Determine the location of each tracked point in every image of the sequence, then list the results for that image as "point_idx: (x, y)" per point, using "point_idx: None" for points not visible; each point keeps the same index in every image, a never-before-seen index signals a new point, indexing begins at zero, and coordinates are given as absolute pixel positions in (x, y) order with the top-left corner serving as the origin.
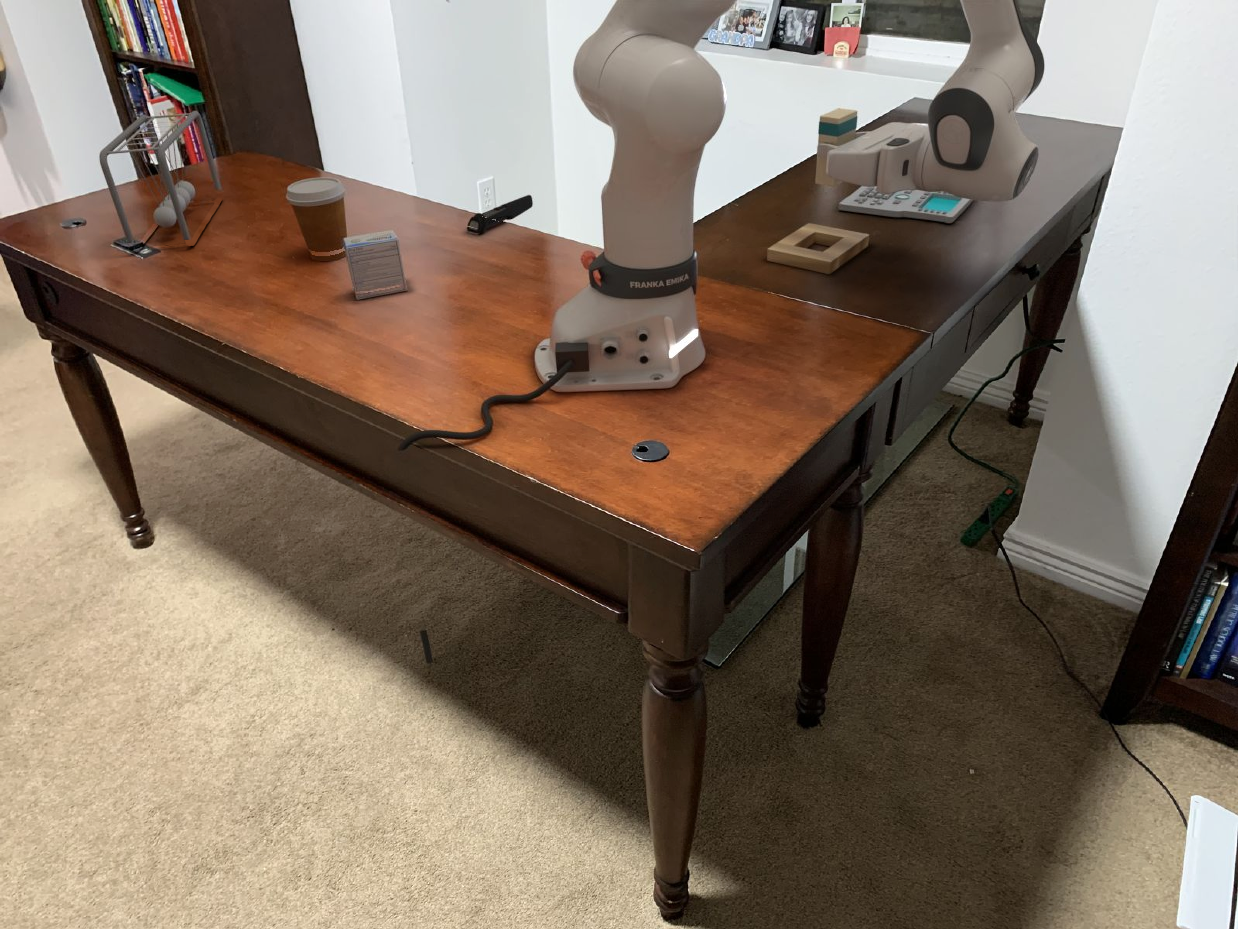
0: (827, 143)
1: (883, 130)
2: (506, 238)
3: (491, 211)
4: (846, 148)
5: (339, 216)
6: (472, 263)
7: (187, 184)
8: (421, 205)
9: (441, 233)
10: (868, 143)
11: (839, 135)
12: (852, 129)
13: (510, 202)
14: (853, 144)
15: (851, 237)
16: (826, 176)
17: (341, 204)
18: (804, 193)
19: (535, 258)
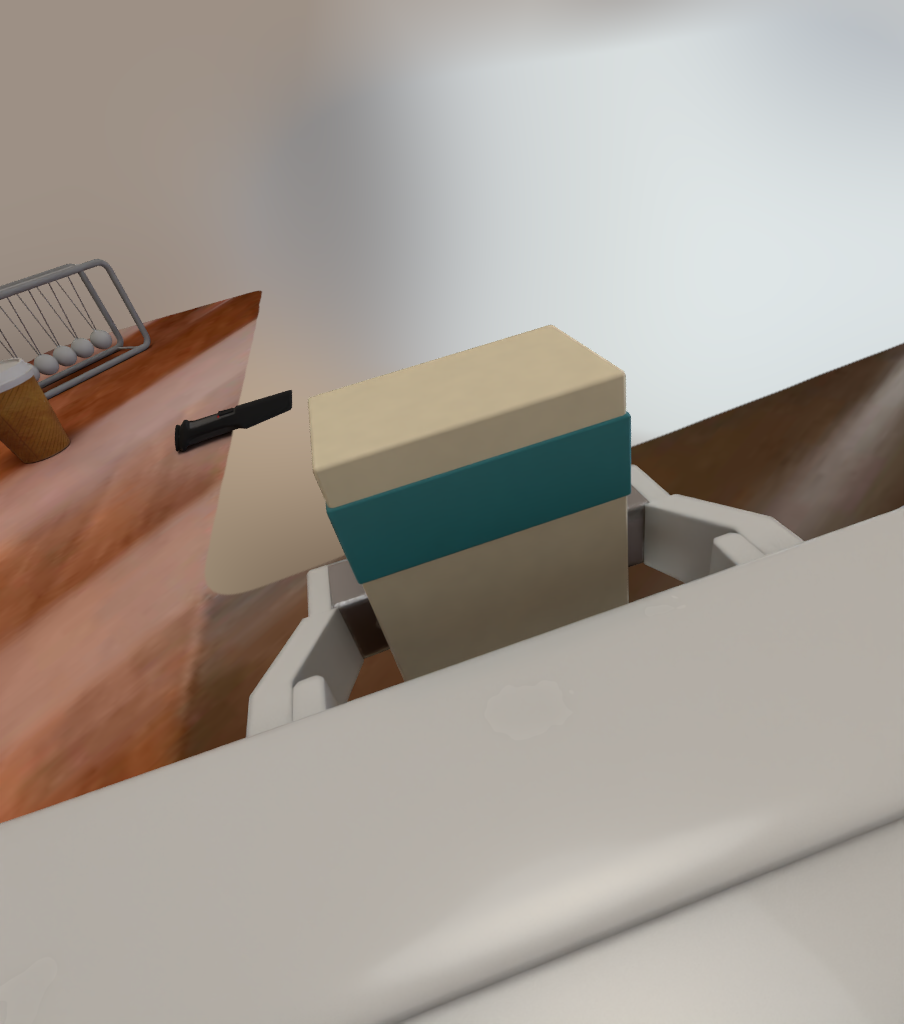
0: (342, 587)
1: (848, 615)
2: (185, 470)
3: (213, 416)
4: (36, 923)
5: (8, 415)
6: (74, 519)
7: (97, 334)
8: (234, 379)
9: (163, 438)
10: (361, 931)
11: (381, 575)
12: (570, 512)
13: (248, 403)
14: (232, 835)
15: None
16: None
17: (6, 400)
18: (758, 465)
19: (129, 536)
